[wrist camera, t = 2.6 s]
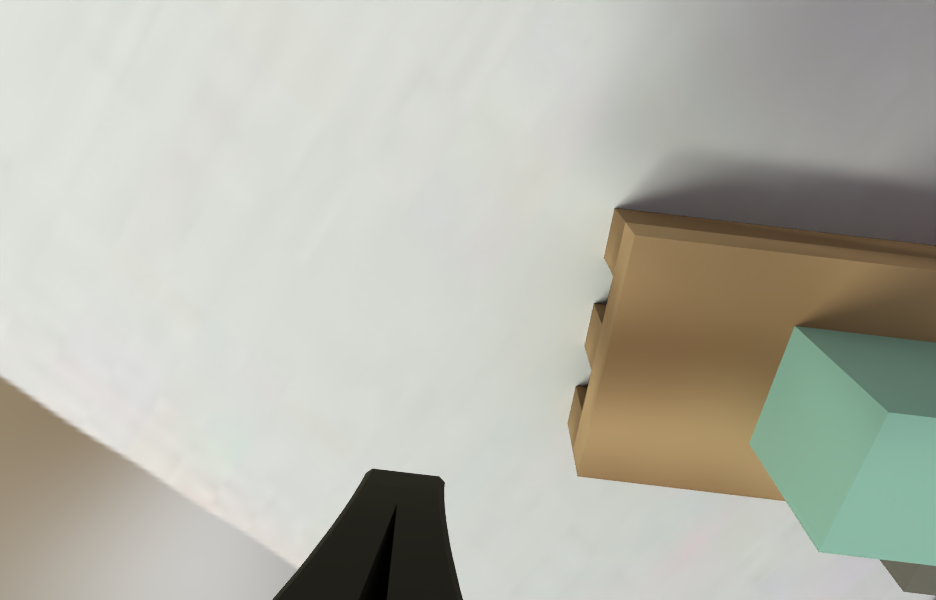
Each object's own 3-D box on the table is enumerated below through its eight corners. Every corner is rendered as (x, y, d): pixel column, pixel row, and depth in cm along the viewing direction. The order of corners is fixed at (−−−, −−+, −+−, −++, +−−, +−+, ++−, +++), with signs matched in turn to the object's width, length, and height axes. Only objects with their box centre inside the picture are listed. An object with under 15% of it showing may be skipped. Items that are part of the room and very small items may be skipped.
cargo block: (881, 459, 17) (987, 571, 13) (749, 443, 17) (818, 552, 13) (940, 342, 15) (1081, 435, 11) (794, 326, 15) (888, 412, 12)
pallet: (893, 458, 20) (954, 521, 18) (566, 419, 20) (577, 476, 18) (1002, 251, 17) (1099, 289, 14) (613, 206, 17) (635, 235, 14)
